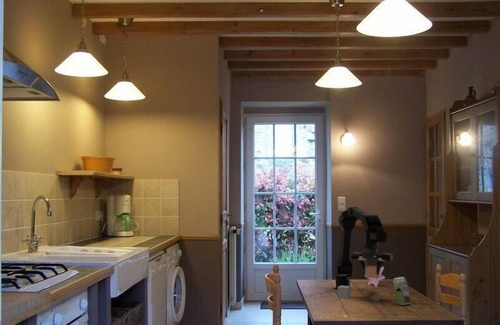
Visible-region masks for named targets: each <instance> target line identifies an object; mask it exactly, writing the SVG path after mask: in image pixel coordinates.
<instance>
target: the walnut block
mask: <svg viewBox="0 0 500 325" xmlns="http://www.w3.org/2000/svg"><path fill="white" fill-rule="evenodd" d="M380 300H381V291H380V290H374V289H373V290H372V289H371V290H370V289H367V290H365V291H364V301H366V302H367V301H368V302H379V301H380Z"/></svg>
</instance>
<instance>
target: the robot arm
mask: <svg viewBox="0 0 500 325" xmlns="http://www.w3.org/2000/svg"><path fill="white" fill-rule="evenodd" d="M358 220H359V221H360V222H361V223H360V224H361V225H362V226H363V227H364V229H362V230H363V232H364V246H363V247H364V248H363V249H362V250H361V252H352V253H351V244H352V243H351V240H352V232H353V230H354V229H355V227H356V223H357V222H358ZM338 222H339V223H338V225H339V227H340V229H341V239H340V253H339V258H337V261H336V262H335V267H334V269H333V271H332V275H333V276H332V277H335V287H334V289H335V290H338V287H339V286H351V280H350V278H351V277H352V275H353V270H354V269H353V268H354V267H353V265H354V263H353V262H352V261H351V260H357V262H359V263H360V264H361V266H362V268H363V271H364V272H365V267H366V266H368V259H369V260H371V259H378V260H377V261H376V263H377V265H376V266H377V276H378V275H379V273H380V270H381V268H382V267H383V264H384V263H385V262H387V261H393V260H394V255H393V253H387V252H385V253H382V254H379V248H378V247H379V244H380V243H381V244H383V243H385V242H386V241H387V240H388V234H387V233H388V232H386V230H384V225H383V224H382V221H381V219H380V217H379V216H378V215H377V214H376V213H375V214H374V213H368V212H366V211H365V210H362V209H361V208H360V207H357V206H349V207H348V208H347V209H346V210H344V211H342V212H341V213H340V215H339V216H338ZM350 253H351V254H350Z"/></svg>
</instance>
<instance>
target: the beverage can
mask: <svg viewBox="0 0 500 325" xmlns="http://www.w3.org/2000/svg"><path fill="white" fill-rule="evenodd" d="M392 285H393V291H394V298H395V302H396V304H397V305H399V306H404V305H405V306H406V305H408V304H410V303H411V297H410V293H409V287H408V282H407V279H406V278H405V277H404V276H399V277H394V278H393V280H392Z"/></svg>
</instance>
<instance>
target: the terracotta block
mask: <svg viewBox="0 0 500 325" xmlns="http://www.w3.org/2000/svg"><path fill="white" fill-rule="evenodd" d="M364 273H365V275H364V277H365V278H366V279H368V278H378V277H379V275H378V276H377V265H367V266H366V267H365V271H364Z"/></svg>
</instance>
